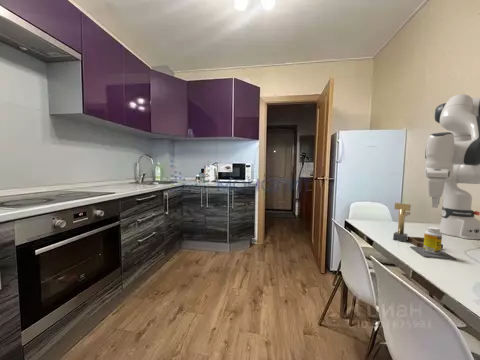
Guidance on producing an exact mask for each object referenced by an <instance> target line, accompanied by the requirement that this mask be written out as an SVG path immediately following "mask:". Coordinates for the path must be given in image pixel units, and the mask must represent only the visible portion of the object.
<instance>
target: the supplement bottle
mask: <svg viewBox="0 0 480 360" xmlns="http://www.w3.org/2000/svg"><path fill="white" fill-rule="evenodd" d="M423 235H424V237H423V238H424V242H423V243H424V246H423V250H424V251H426V252H429V253H433V254H439V253H440V252H441V250H442V249H441V244H442V241H443V239H442V238H443V233H440V229H439V227H436V226H427V228H426V230H425V231H424V234H423Z"/></svg>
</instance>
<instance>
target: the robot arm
mask: <svg viewBox="0 0 480 360" xmlns="http://www.w3.org/2000/svg"><path fill="white" fill-rule="evenodd" d="M433 118H434V121H435V122H436V123H438V124H440V126H441V127H442V128H443V129H445V130H446V132H444V131H443V132H435V133H431V134H429V136H428V138H427V142H426V148H425V152H424V153H425V154H424V158H425V160H426V161H425V163H424V171H423V176H424V177H426V178H427V185H428V187H427V189H428V196H429V197H430V198H431V207H432V208H435V209H437V208H438V207H439V205H440V202H441V201H440V200H441V198H442V196H443V204H442V205H443V206H442V207H441V220H440V223H439V226H438V228H439V229H440V233H441V234H442V235H443V234H444V235H446V236H447V235H448V236H451V237H456V238H461V239H466V240H480V220H479V219H478V218H477V217H475V216H480V211H477V210H472V204H473V203H472V201H473V196H472V194H471V193H469V192H468V191H466V190H464V189H463V188H462V189H461V188H460V187H459V186H458V184H467V185H470V184H471V185H480V97H474V98H472V97H471V96H470V95H468V94H463V93H461V94H456V95H454V96H452V97H450V98H449V99H448V100H447V102H444V103H441V104H438V105H437V107H435V110H434V113H433Z"/></svg>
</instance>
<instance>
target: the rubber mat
mask: <svg viewBox="0 0 480 360" xmlns="http://www.w3.org/2000/svg"><path fill="white" fill-rule="evenodd" d="M409 247H410V249H412V251H415V252H416V253H417V254H419V256H422V257H423V258H430V259H439V260H449V261H450V260H451V261H457V260H458V259H457V258H456V257H455V256H453V255H451V254H449V253H447V252H446V251H443V249H441V252H440V253H439V254H433V253H429V252H426V251H424V250H423V247H417V246H415V245H412V246H409Z"/></svg>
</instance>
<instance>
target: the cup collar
mask: <svg viewBox="0 0 480 360" xmlns="http://www.w3.org/2000/svg"><path fill="white" fill-rule="evenodd" d="M407 241H408V242H409V243H410V244H412V245H413V246H414V247H423V246H424V237H421V236H420V237H419V236H408V235H407ZM443 248H444V245H443V244H442V243H441V250H444V249H443Z"/></svg>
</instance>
